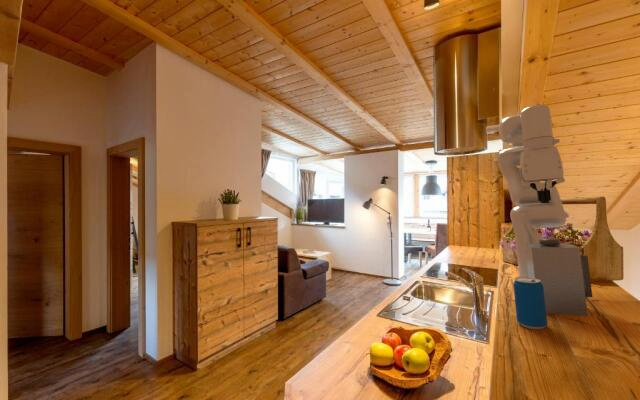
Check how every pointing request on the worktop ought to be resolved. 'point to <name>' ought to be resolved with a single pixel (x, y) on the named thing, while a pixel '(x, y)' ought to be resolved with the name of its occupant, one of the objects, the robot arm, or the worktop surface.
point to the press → (560, 276)
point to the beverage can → (530, 302)
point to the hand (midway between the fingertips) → (544, 203)
